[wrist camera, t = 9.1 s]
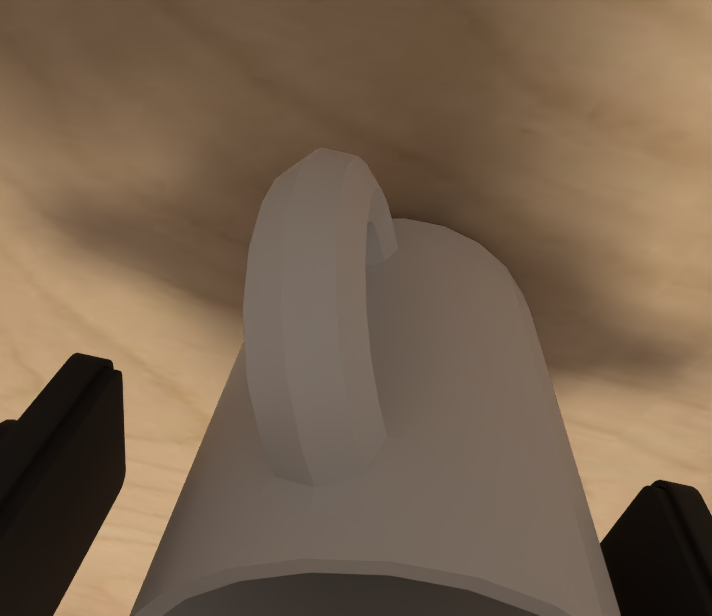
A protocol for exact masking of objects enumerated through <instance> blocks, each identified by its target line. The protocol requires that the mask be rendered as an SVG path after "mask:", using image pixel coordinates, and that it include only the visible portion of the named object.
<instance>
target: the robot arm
mask: <svg viewBox="0 0 712 616" xmlns="http://www.w3.org/2000/svg"><path fill="white" fill-rule="evenodd" d="M125 473H126V465H125V437H124V409H123V382H122V373H121V371H118V370H114V368H113V363H112V361H111V360H108V359H104V358H99V357H94V356H90V355H85V354H81V353H75V354H73V355H72V356H71V357H70V358H69V359H68V360H67V361H66V363H65V364H64V365H63V366H62V367H61V369H60V370H59V371H58V372H57V373H56V375H55V376H54V377H53V378H52V379H51V381H50V382H49V383H48V384H47V385H46V387H45V388H44V389H43V390H42V391H41V393H40V394H39V395H38V396H37V398H36V399H35V400H34V401H33V402H32V404H31V405H30V406H29V407H28V408H27V410H26V411H25V412H24V413H23V414H22V416H21V417H20V418H19V419H18V420H5V421H3V422H1V423H0V616H53V615H54V613H55V611H56V609H57V608H58V606H59V604H60V602H61V600H62V598H63V596H64V595H65V593H66V591H67V589H68V587H69V585H70V583H71V582H72V580H73V578H74V576H75V574H76V572H77V570H78V569H79V567H80V565H81V563H82V561H83V559H84V557H85V556H86V554H87V552H88V550H89V548H90V546H91V544H92V543H93V541H94V539H95V537H96V535H97V533H98V531H99V530H100V528H101V526H102V524H103V522H104V520H105V518H106V516H107V515H108V513H109V511H110V509H111V507H112V505H113V503H114V502H115V500H116V498H117V496H118V494H119V492H120V490H121V488H122V485H123V482H124V479H125ZM600 547H601V550H602V554H603V557H604V560H605V564H606V567H607V570H608V574H609V577H610V580H611V584H612V587H613V590H614V594H615V597H616V601H617V604H618V607H619V611H620V614H621V616H712V516H711V514H710V512H709V510H708V508H707V506H706V504H705V502H704V500H703V498H702V496H701V494H700V493H699V492H698V490H697V489H695V488H694V487H691V486H687V485H682V484H678V483H673V482H668V481H664V480H657V481H655V482H654V483H653V484H652V485H651V486H645V487H644V488H643V489H642V490H641V491H640V492H639V493H638V495H637V496H636V497H635V499H634V500H633V501H632V503H631V504H630V505H629V506H628V508H627V509H626V510H625V512H624V513H623V514H622V516H621V517H620V518H619V519H618V521H617V522H616V523H615V525H614V526H613V527H612V529H611V530H610V531H609V532H608V534H607V535H606V536H605V538H604V539H603V540H602V542H601V543H600Z"/></svg>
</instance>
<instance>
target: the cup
mask: <svg viewBox="0 0 712 616" xmlns="http://www.w3.org/2000/svg"><path fill="white" fill-rule="evenodd" d="M243 328H244V342H243V344H242V346H241V349H240V351H239V354H238V356H237V358H236V361H235V363H234V366H233V368H232V370H231V373H230V375H229V378H228V380H227V382H226V385H225V387H224V390H223V392H222V394H221V397H220V399H219V402H218V404H217V407H216V409H215V411H214V414H213V416H212V419H211V421H210V423H209V426H208V428H207V431H206V433H205V435H204V438H203V440H202V443H201V445H200V447H199V450H198V452H197V455H196V457H195V459H194V462H193V464H192V467H191V469H190V471H189V474H188V476H187V479H186V481H185V484H184V486H183V488H182V491H181V493H180V496H179V498H178V500H177V503H176V505H175V508H174V510H173V512H172V515H171V517H170V520H169V522H168V524H167V527H166V529H165V532H164V534H163V536H162V539H161V541H160V544H159V546H158V548H157V551H156V553H155V556H154V558H153V561H152V563H151V565H150V568H149V570H148V573H147V575H146V577H145V580H144V582H143V585H142V587H141V589H140V592H139V594H138V597H137V599H136V601H135V604H134V606H133V609H132V611H131V613H130V616H621V614H620V611H619V607H618V604H617V601H616V597H615V594H614V590H613V587H612V584H611V580H610V577H609V574H608V570H607V567H606V564H605V560H604V557H603V554H602V550H601V547H600V543H599V540H598V537H597V533H596V530H595V527H594V523H593V520H592V517H591V513H590V510H589V507H588V503H587V500H586V496H585V493H584V490H583V486H582V483H581V480H580V476H579V473H578V470H577V466H576V463H575V460H574V456H573V453H572V450H571V446H570V443H569V439H568V436H567V433H566V429H565V426H564V423H563V419H562V416H561V413H560V409H559V406H558V403H557V399H556V396H555V392H554V389H553V386H552V382H551V379H550V376H549V372H548V369H547V366H546V362H545V359H544V356H543V352H542V349H541V346H540V342H539V339H538V335H537V332H536V329H535V325H534V322H533V319H532V315H531V312H530V309H529V307H528V305H527V302H526V300H525V298H524V295H523V293H522V292H521V290H520V289H519V287H518V285H517V284H516V282H515V280H514V279H513V277H512V276H511V274H510V272H509V271H508V269H507V267H506V266H505V265H504V264H502V263H501V262H500V261H499V260H498V259H497V258H496V257H494V256H493V255H492V254H491V253H490V252H489V251H487V250H486V249H485V248H484V247H483V246H482V245H481V244H479V243H478V242H476V241H474V240H472V239H470V238H467V237H465V236H463V235H461V234H459V233H457V232H455V231H453V230H451V229H449V228H447V227H445V226H441V225H436V224H431V223H426V222H421V221H416V220H411V219H406V218H397V219H392V218H391V214H390V210H389V207H388V203H387V200H386V198H385V196H384V193H383V191H382V189H381V187H380V186H379V184H378V182H377V180H376V179H375V177H374V175H373V174H372V172H371V170H370V169H369V167H368V165H367V163H366V162H365V161H364V160H362V159H361V158H360V157H358V156H357V155H353V154H348V153H344V152H340V151H336V150H332V149H327V148H323V147H319V148H318V149H316V150H315V151H314V152H312V153H311V154H309V155H308V156H306V157H305V158H303V159H302V160H301V161H299V162H298V163H296V164H295V165H293V166H292V167H291V168H289V169H288V170H286V171H285V172H283V173H282V174H281V175H279V176H278V177H276V178H275V180H274V182H273V184H272V185H271V187H270V189H269V191H268V193H267V194H266V196H265V198H264V200H263V202H262V203H261V206H260V210H259V214H258V217H257V221H256V224H255V228H254V231H253V235H252V238H251V242H250V245H249V251H248V261H247V271H246V280H245V290H244V300H243Z"/></svg>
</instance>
